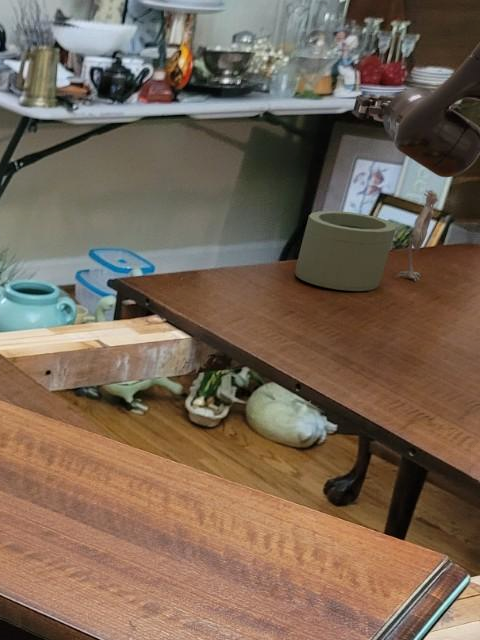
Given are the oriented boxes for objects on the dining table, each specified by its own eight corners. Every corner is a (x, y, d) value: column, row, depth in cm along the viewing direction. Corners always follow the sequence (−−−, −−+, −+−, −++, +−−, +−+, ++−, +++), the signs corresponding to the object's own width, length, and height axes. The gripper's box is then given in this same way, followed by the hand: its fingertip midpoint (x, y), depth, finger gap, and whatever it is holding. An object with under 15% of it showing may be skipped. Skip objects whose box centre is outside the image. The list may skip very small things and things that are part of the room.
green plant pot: (372, 273, 199) (389, 216, 194) (384, 295, 187) (402, 235, 182) (291, 263, 202) (306, 207, 196) (298, 285, 190) (313, 225, 184)
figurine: (416, 287, 192) (441, 198, 184) (392, 284, 194) (415, 196, 186) (423, 271, 201) (447, 186, 193) (399, 268, 202) (422, 183, 194)
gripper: (479, 95, 153) (455, 81, 166) (372, 86, 155) (357, 73, 168) (461, 152, 157) (439, 134, 170) (356, 143, 159) (343, 125, 172)
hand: (398, 104), depth 169 cm, fingers open, 8 cm apart
